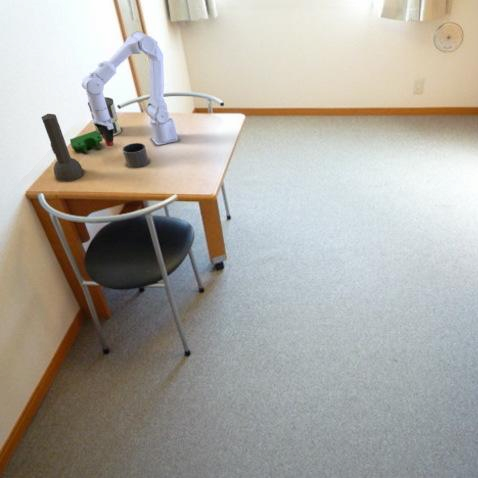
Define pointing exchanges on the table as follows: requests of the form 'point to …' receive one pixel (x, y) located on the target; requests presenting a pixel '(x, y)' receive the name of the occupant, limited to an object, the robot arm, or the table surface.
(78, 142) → the green notched block
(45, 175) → the table surface
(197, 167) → the table surface
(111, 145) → the marker
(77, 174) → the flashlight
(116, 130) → the coffee can
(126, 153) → the cup
